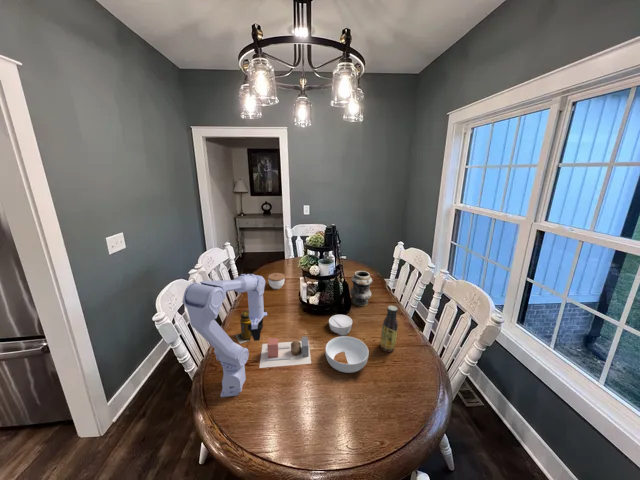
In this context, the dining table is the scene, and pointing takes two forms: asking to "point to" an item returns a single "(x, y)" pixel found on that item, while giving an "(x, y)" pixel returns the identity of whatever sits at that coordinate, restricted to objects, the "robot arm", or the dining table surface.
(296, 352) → the walnut
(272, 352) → the pinkish red block
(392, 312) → the sauce bottle
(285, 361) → the press base
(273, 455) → the dining table surface
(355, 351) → the cereal bowl
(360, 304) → the apothecary jar
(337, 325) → the ramekin
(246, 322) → the condiment
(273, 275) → the lidded jar
